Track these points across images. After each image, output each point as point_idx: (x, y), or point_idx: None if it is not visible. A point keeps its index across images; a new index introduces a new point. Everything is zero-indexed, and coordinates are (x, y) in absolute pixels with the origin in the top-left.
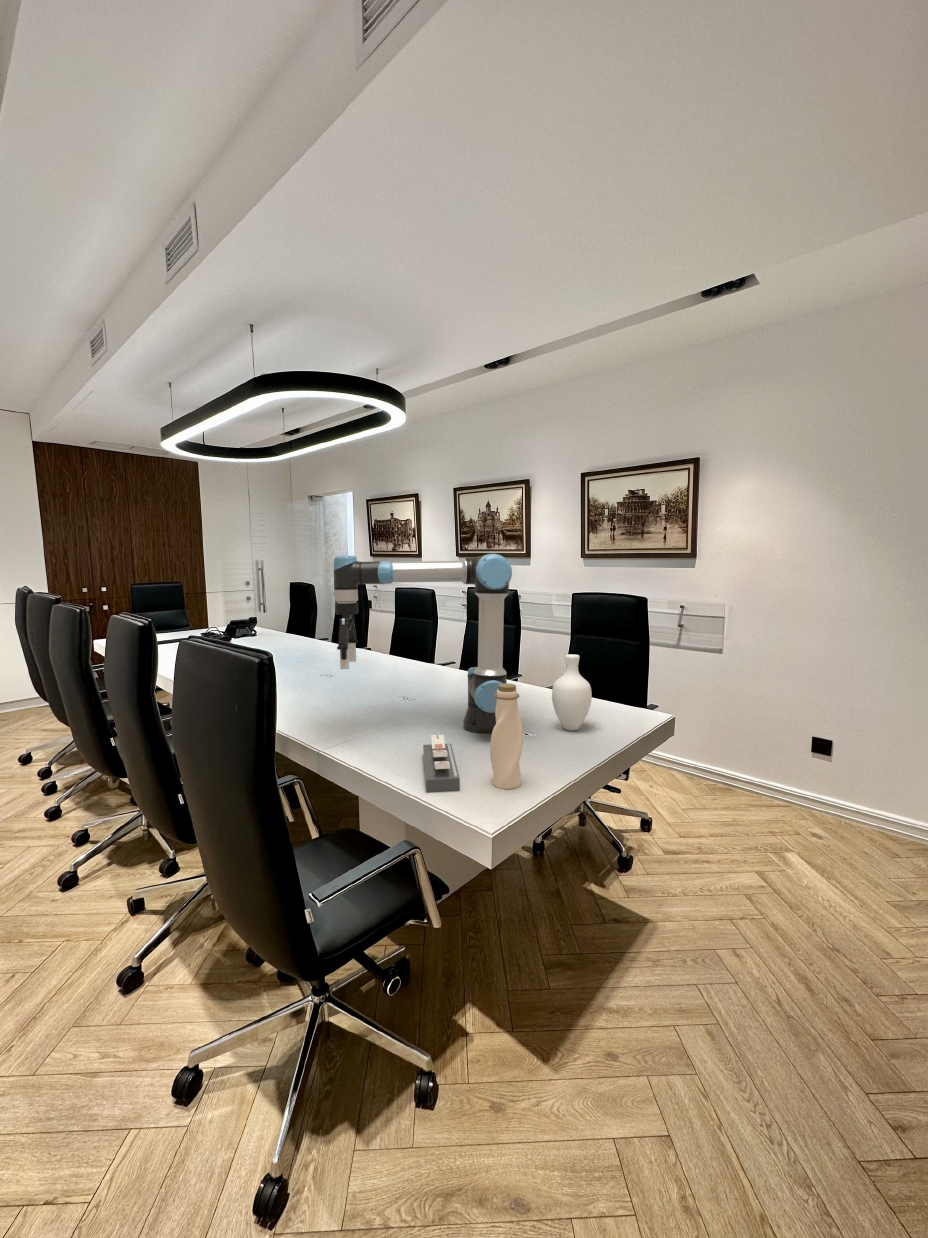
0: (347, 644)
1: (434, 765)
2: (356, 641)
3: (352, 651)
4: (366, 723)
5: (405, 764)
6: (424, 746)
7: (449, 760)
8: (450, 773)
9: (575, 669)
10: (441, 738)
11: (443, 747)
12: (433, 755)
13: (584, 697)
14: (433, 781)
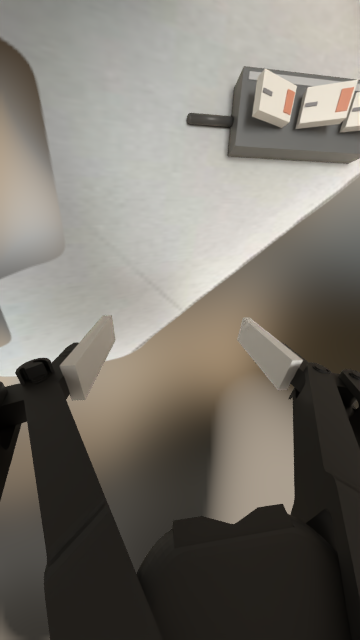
0: (329, 382)
1: (356, 128)
2: (45, 368)
3: (99, 348)
4: (67, 266)
5: (254, 192)
6: (244, 143)
7: None
8: None
9: None
10: (273, 82)
11: (294, 90)
12: (334, 122)
13: None
14: None
